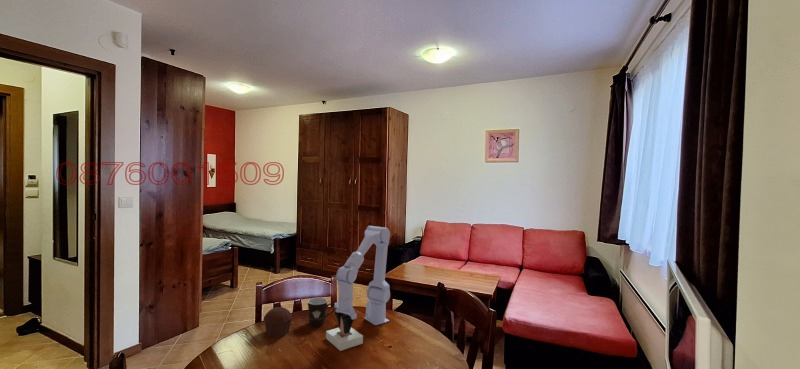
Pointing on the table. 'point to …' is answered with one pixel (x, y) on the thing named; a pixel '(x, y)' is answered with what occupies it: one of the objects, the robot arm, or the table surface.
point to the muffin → (277, 322)
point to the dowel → (342, 329)
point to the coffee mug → (318, 311)
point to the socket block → (344, 339)
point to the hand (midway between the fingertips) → (344, 330)
